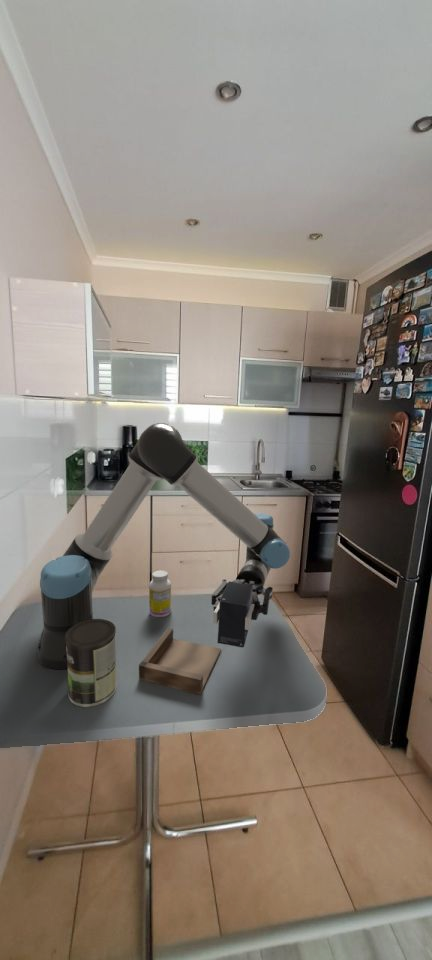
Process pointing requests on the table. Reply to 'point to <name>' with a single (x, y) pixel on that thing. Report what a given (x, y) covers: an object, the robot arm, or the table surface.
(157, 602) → the supplement bottle
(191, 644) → the corner tray
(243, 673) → the table surface
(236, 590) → the small box
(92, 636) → the coffee can
